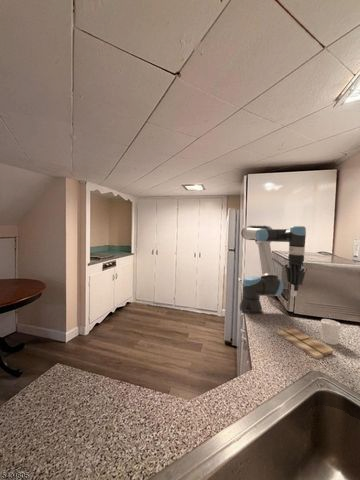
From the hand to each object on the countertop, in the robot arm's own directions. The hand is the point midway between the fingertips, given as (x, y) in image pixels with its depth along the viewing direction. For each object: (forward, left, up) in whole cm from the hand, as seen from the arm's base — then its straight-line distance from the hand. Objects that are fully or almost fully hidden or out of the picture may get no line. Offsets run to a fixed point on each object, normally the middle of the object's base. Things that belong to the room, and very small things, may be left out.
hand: (293, 295), depth 114 cm
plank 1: (+6, -3, -19) cm, 20 cm away
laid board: (+12, -9, -20) cm, 25 cm away
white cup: (+15, +9, -20) cm, 26 cm away
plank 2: (+18, -3, -19) cm, 26 cm away
